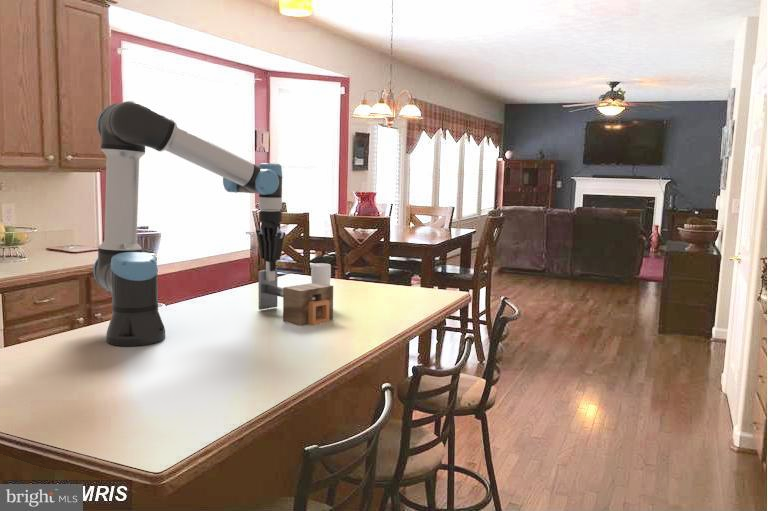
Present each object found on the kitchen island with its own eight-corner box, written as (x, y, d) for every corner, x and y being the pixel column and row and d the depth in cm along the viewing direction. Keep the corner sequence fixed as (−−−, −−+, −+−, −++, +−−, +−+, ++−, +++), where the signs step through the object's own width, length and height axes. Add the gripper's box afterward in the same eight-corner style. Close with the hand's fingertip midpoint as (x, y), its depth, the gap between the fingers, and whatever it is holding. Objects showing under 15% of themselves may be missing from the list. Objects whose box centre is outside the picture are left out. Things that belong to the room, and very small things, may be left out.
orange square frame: (312, 325, 196) (312, 303, 196) (308, 324, 198) (308, 302, 197) (329, 321, 202) (329, 300, 201) (324, 320, 203) (325, 299, 202)
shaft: (305, 321, 198) (306, 280, 197) (258, 309, 215) (258, 271, 213) (322, 318, 204) (322, 278, 202) (275, 306, 220) (275, 268, 218)
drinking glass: (331, 305, 226) (332, 263, 224) (328, 309, 219) (328, 266, 217) (313, 304, 226) (313, 262, 224) (309, 308, 220) (309, 265, 218)
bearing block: (299, 325, 195) (299, 291, 194) (283, 321, 201) (283, 287, 199) (332, 318, 205) (333, 285, 204) (316, 314, 211) (316, 282, 209)
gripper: (291, 211, 210) (291, 281, 213) (267, 208, 219) (267, 276, 222) (273, 211, 204) (273, 284, 208) (249, 209, 213) (249, 279, 216)
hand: (270, 280), depth 215 cm, fingers closed
